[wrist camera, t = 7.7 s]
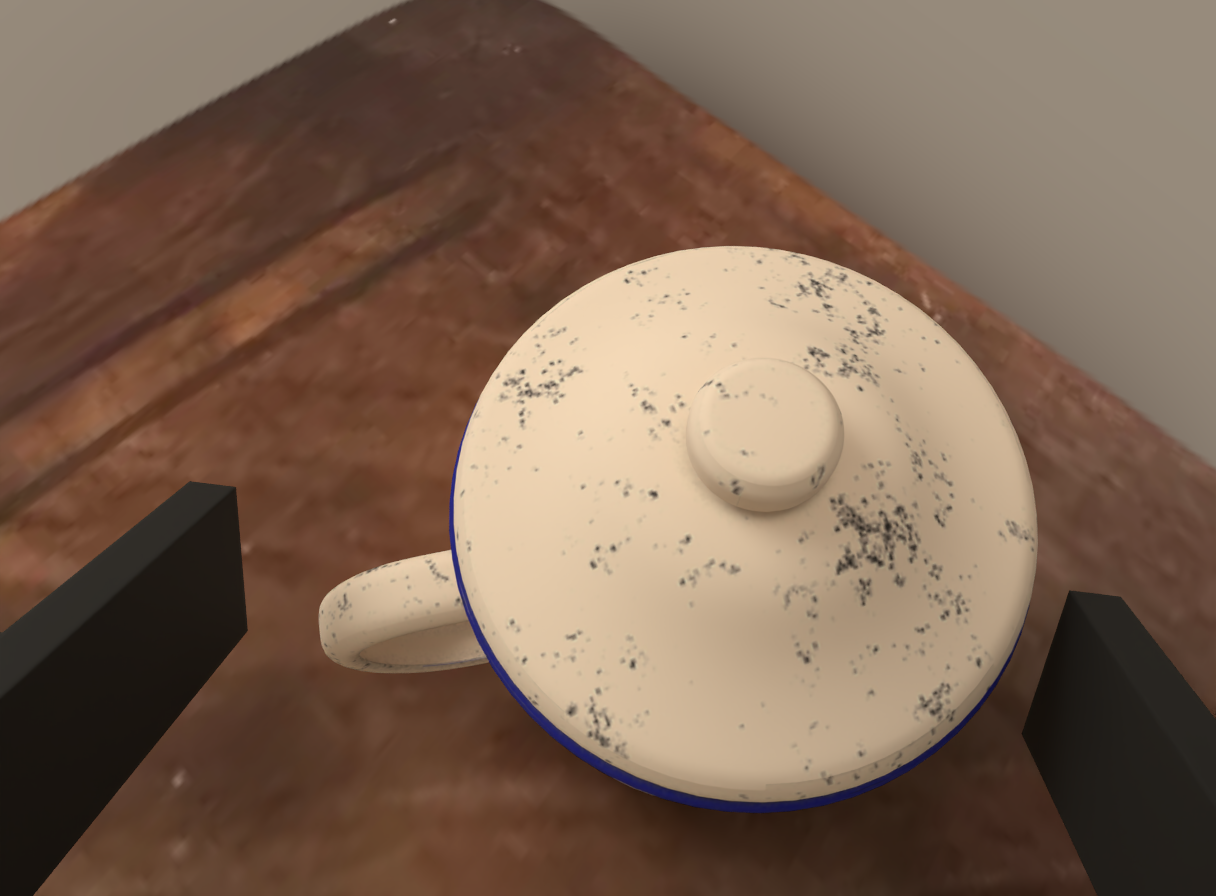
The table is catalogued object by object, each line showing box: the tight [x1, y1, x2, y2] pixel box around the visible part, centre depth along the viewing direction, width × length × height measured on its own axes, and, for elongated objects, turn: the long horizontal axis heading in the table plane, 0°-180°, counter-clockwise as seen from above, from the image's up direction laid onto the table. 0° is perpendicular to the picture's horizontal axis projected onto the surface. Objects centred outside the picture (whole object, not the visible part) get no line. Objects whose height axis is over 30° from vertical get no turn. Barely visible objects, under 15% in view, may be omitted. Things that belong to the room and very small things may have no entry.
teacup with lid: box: [319, 246, 1038, 813], centre depth 17 cm, size 12×9×12 cm
